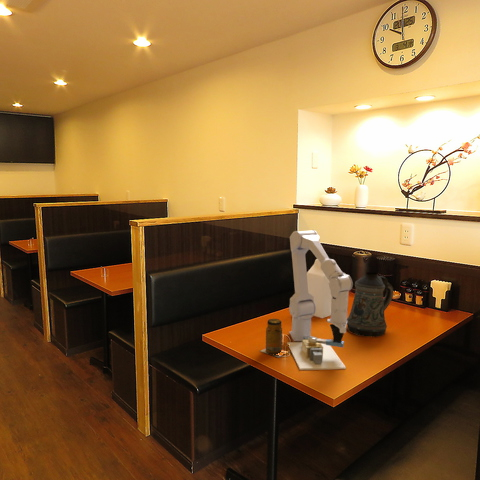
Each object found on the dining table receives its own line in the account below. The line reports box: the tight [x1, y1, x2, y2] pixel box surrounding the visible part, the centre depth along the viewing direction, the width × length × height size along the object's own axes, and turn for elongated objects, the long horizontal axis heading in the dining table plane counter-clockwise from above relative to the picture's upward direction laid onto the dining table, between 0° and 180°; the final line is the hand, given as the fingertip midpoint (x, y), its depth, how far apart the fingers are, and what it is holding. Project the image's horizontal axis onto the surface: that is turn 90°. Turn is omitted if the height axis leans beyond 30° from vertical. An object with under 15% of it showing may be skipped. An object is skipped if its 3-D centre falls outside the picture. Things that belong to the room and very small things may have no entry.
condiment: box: [260, 318, 283, 358], centre depth 153 cm, size 7×8×12 cm
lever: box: [308, 335, 345, 348], centre depth 148 cm, size 13×3×1 cm, turn 70°
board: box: [287, 341, 347, 371], centre depth 151 cm, size 22×16×1 cm
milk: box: [307, 258, 332, 319], centre depth 197 cm, size 12×12×26 cm
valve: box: [301, 336, 323, 365], centre depth 150 cm, size 17×6×5 cm, turn 5°
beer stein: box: [346, 272, 394, 338], centre depth 176 cm, size 16×19×25 cm
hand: (337, 344), depth 149 cm, fingers closed, pressing on lever
